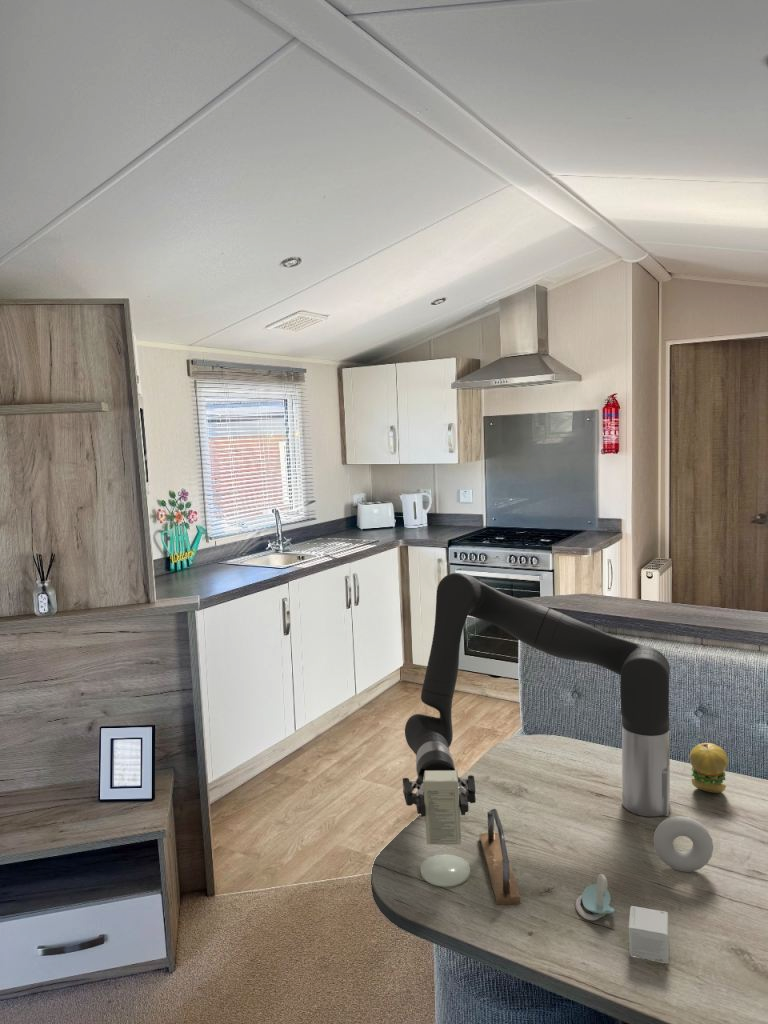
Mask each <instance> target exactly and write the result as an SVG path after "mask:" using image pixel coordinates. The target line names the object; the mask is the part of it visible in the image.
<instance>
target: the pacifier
mask: <svg viewBox="0 0 768 1024" xmlns="http://www.w3.org/2000/svg"><path fill="white" fill-rule="evenodd" d="M608 885H609V884H608V879H607V877H606V875H604V874H602V873H599V874H598V876H597V880H596V883H592V884H590V885H588V886H587V887H585V888H584V890H583V893H582V895H579V896H578V897H577V898H576V900H575V904H574V905H575V908H576V911H577V913H578V914H579V915H580V916H581V917H582V918H583V919H585V920H587V921H597V920H600V918H604V917H605V916H606V915H608V914H610V915H611V914H614V913H615V911H616V909H615V908H614V907H612V906H610V905H611V894H610V892H609V890H608V887H609V886H608ZM582 904H583V905H582ZM581 905H582V906H583V907H584V908H585V909H586V910H587V911H589V912H591V913H592V914H590V913H587V912H586V911H585V910H584V909H583V907H582V906H581Z"/></svg>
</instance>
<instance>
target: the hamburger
mask: <svg viewBox="0 0 768 1024" xmlns="http://www.w3.org/2000/svg"><path fill="white" fill-rule="evenodd" d="M689 761H690V765H691V772H692V773H691V776H692V778H691V784H692V785H693V786H694V788H696V789H697V790H701V791H703V792H707V793H712V794H713V793H714V794H715V793H716V794H720V793H722V792H725V790H726V787H727V785H726V784H724V783H723V782H724V781H726V769H727V768H728V765H729V758H728V755H727V753H726V751H725V750H724V749H723V748H722V747H721V746H719V745H717V744H715V743H712V742H711V743H710V742H702V743H698V744H696V745H695V746H694V747H692V749H691V750H690V753H689Z"/></svg>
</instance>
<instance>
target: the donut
mask: <svg viewBox="0 0 768 1024" xmlns="http://www.w3.org/2000/svg"><path fill="white" fill-rule="evenodd" d="M653 835H654V836H653V846H654V850H655V852H656V854H657V856H658V858H659V859H660V860H661V861H662V862H663V863H664V864H665V865H666V866H667V867H669V868H672V870H676V871H680V872H684V873H685V872H687V873H689V872H692V873H693V872H696V871H699V870H701V869H702V868H703V867H704V866H706V865H707V864H708V863H709V861H710V860H711V858H712V857H713V852H714V843H713V842H714V841H713V838H712V836H711V834H710V833H709V831H708V828H706V827H705V826H704V824H702V823H701V822H700V821H698V820H696V819H694V818H692V817H688V816H684V815H676V816H675V815H674V816H671V817H668V818H666V819H664V820H662V822H660V823H659V824H658V825H657V827H656V829H655V831H654V834H653ZM678 837H679V838H680V837H687V838H688V839H690V841H691V842H692V847H691V848H690V849H689V850H683V851H682V850H679V849H677V848H676V847H675V845H674V842H675V840H676V839H677V838H678Z"/></svg>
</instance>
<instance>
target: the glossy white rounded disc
mask: <svg viewBox="0 0 768 1024" xmlns="http://www.w3.org/2000/svg"><path fill="white" fill-rule="evenodd" d="M420 875H421V877H422V879H423V880H424V881H425V882H427V883H428V884H431V885H432V886H437V887H443V888H452V887H456V886H459V885H461V884H463V883H465V882H466V881H467V880H468V879H469V878H470V876H471V866H470V865H469V863H468V862H467V861H466V860H465V859H463V858H462V857H460V856H458V855H457V856H456V855H453V854H438V855H433V856H430V857H428V858H426V859H425V860H424V861H423V862H422V864H421V865H420Z"/></svg>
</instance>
